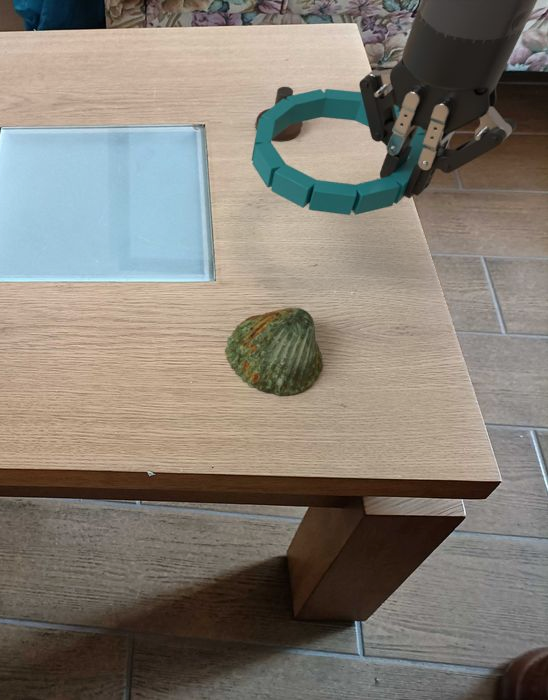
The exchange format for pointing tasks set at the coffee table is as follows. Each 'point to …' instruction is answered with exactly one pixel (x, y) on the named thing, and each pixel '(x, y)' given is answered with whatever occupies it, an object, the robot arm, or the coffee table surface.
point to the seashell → (276, 351)
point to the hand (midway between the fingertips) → (400, 187)
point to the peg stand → (292, 129)
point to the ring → (316, 191)
